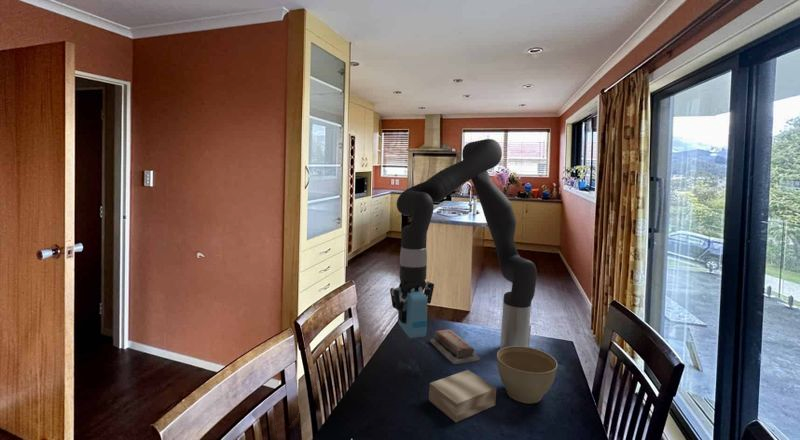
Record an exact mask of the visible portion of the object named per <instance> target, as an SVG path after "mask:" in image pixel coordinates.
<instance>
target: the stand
mask: <svg viewBox="0 0 800 440" xmlns="http://www.w3.org/2000/svg"><path fill="white" fill-rule="evenodd" d="M428 388H429V389H428V391H429V392H428V393H429V394H428V402H430V403H432V404H433V405H434V406H435V407H436V408H437V409H438V410H440V411H441V412H442V413H444V414H445V415H446V416H447V417H448V418H450V419H451V420H452V421H453V422H455V423H458V422H460V421H462V420H465V419H467V418H469V417H472V416H474V415H476V414H478V413H481V412H482V411H486V410H487V409H491V408H493V407H495V406H496V399H497V387H496V386H494V385H493V384H491V383H489V382H488V381H486V380H485V379H484V378H481V376H478V375H477V374H475V373H474V372H472V371H470V370H469V369H466V370H463V371H460V372H457V373H454V374H452V375H450V376H445V377H444V378H440V379H438V380H433V381H431V382H430V383H429V387H428Z"/></svg>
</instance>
